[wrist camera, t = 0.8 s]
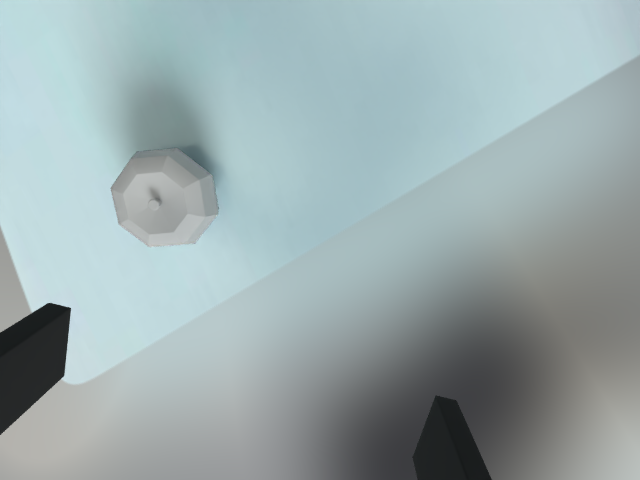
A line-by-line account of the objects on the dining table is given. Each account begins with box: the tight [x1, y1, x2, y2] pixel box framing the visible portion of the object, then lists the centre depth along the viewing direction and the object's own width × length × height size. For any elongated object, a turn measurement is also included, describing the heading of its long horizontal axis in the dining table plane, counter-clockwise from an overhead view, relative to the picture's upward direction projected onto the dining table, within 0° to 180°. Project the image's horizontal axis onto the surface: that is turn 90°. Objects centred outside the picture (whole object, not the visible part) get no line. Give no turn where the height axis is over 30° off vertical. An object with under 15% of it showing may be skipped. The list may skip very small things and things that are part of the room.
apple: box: [111, 148, 219, 247], centre depth 33 cm, size 8×8×7 cm
